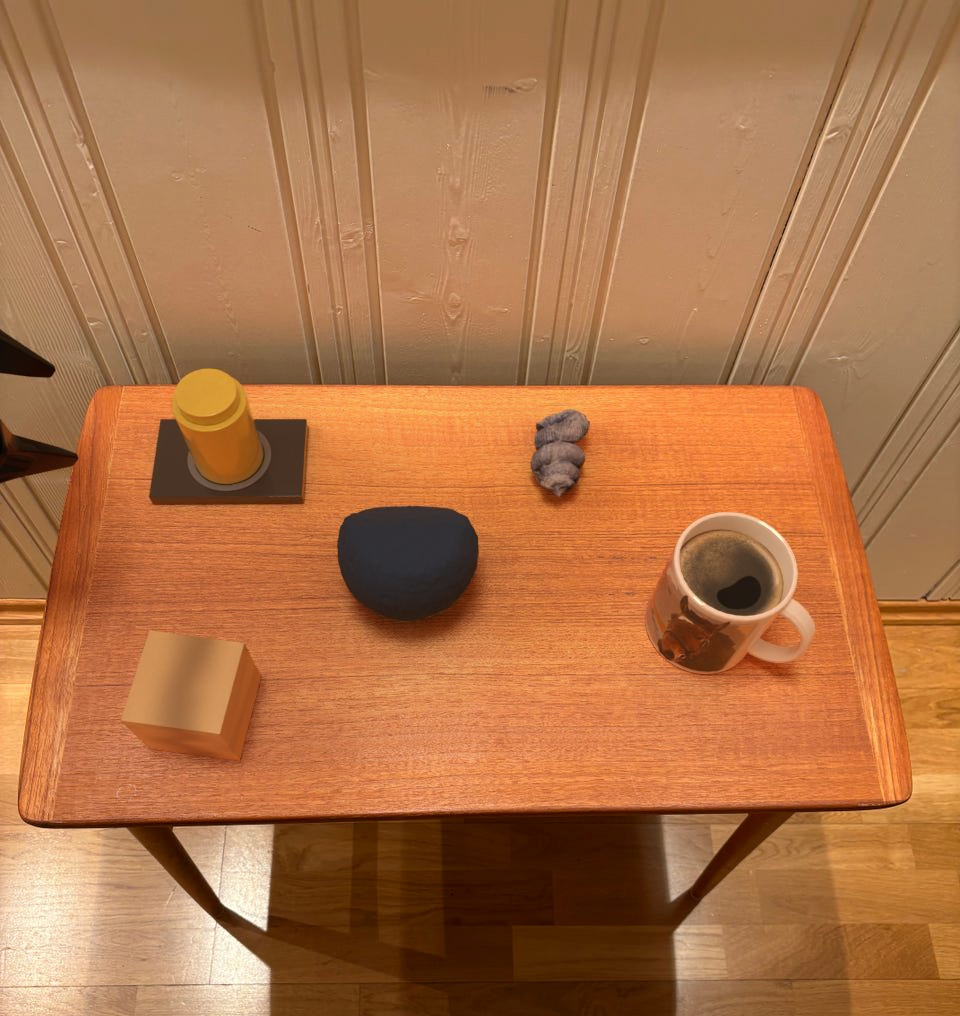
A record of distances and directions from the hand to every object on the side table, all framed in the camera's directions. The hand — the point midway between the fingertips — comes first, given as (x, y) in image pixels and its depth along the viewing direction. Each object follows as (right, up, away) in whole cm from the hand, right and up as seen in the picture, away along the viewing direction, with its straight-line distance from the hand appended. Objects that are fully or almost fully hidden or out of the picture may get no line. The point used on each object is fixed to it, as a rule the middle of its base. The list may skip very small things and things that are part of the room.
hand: (64, 415), depth 68 cm
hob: (+9, -1, +15) cm, 17 cm away
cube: (+10, -24, +5) cm, 26 cm away
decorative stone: (+26, -13, +10) cm, 31 cm away
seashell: (+40, -1, +16) cm, 44 cm away
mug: (+53, -17, +10) cm, 57 cm away
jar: (+9, 0, +14) cm, 16 cm away
